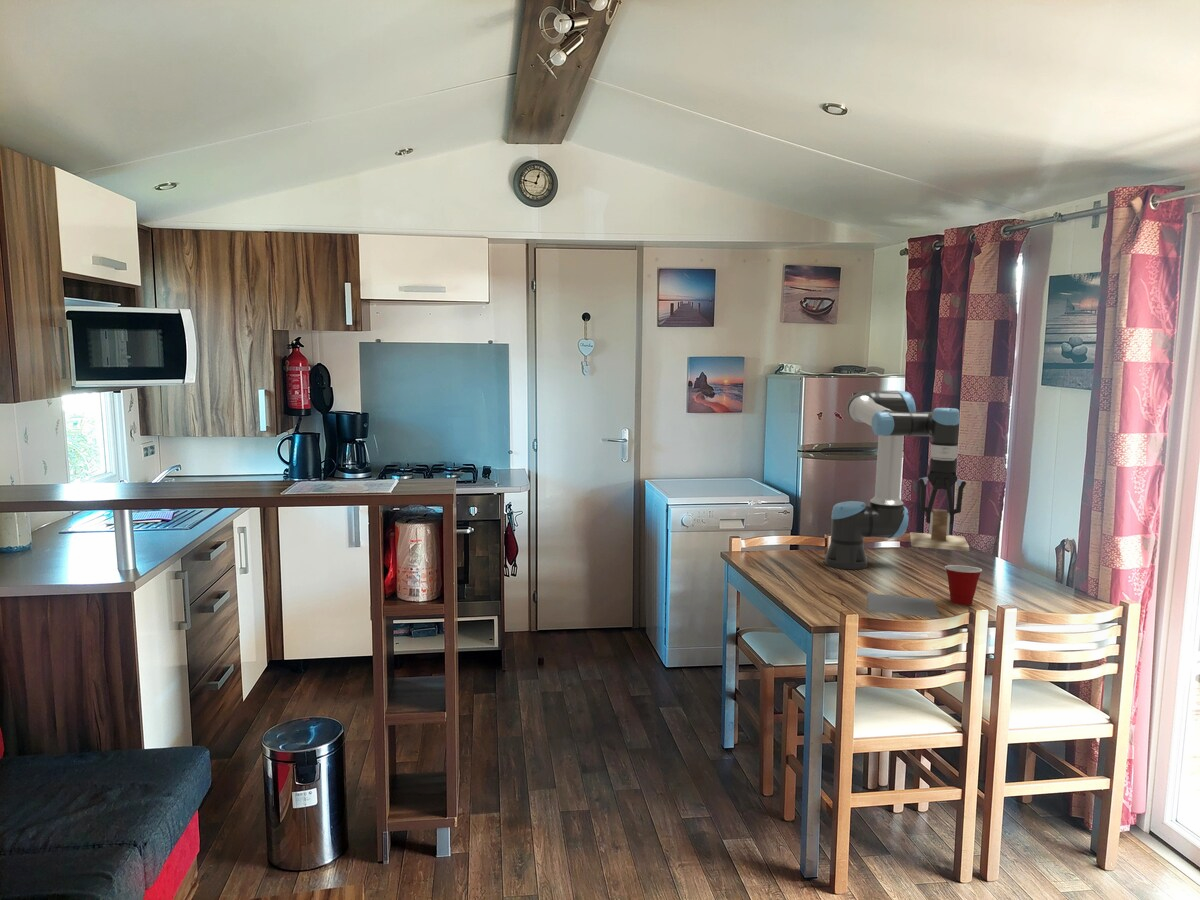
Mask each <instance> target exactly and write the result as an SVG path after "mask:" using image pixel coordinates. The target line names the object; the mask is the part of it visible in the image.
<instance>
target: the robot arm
mask: <svg viewBox="0 0 1200 900" xmlns="http://www.w3.org/2000/svg"><path fill="white" fill-rule="evenodd" d="M912 395H913V394H911V393H910V392H908V391H904V390H871V389H870V390H869V389H868V390H863V391H860V392H857V393H856V394H854V395H852V396H851V397H850V398H849V400H848V401H847V404H846V412H847V415H848V416H849V417H850V419H852V420H853V421H854V422H857V423H860V424H861V423H862V424H864V423H865V424H867V425H868V426H870V427H871V430H872V433H873V434H874V435H876V436H878V440H877V453H876V454H877V457H876V469H875V470H876V472H875V473H876V474H875V485H874V486H875V489H874V497H872V498H871V499H870V500H869V505H867V504H866V503H865V502H864V501H861V500H860V501H859V500H857V501H855V500H850V501H841V502H837V503H835V504H834V505H833V507H832V511H831V515H830V516H831V517H830V518H831V521H830V522H831V525H830V527H831V529H830V542H829V546H828V549H827V552H826V554H825V555H824V556H825V557H824V564H825V565H827V566H828V567H832V568H834V569H835V568H836V569H843V570H863V569H865V568H867V567H868V557H867V554H866V550H865V548H864V539H865V538H877V539H879V538H880V539H881V538H883V539H885V538H886V539H894V538H895V539H896V538H897V539H898V538H901V537H902V536H904V534H905V533H906V531H907V529H908V526H909V518H910V517H909V510H908V508H907V507H906V506H904V501H903V500H901V498H900V496H901V495H900V494H901V492H900V491H901V479H902V466H903V465H902V464H903V453H904V452H903V450H904V436H905V437H930V438H931V442H930V455H929V457H931V459H930V460H929V472H928V474H927V476H924V477H919V478H918V482H919V485H920V506H919V507H920V510H921V511H923V512H925V514H926V515H925V522H926V523H927V524H929V527H928V528H929V529H928V534H931V535H932V526H933V506H934V502H935V499H936V497H937V492H938V490H944V491H945V493H946V498H947V504H948V511H949V512H948V516H947V532H946V536H949V535H950V526H953V525H954V522H955V521H954V519H955V515H956V514H960V513H961V512H962V503H963V493H964V488H965V486H966V484H967V482H966V480H964V479H960V478H958V475H957V465H958V463H957V462H958V461H957V460H956V459H957V458H958V448H959V447H958V446H959V445H958V444H959V433H960V432H959V431H960V423H961V420H960V410H959V409H958V408H956V407H955V408H953V407H950V408H949V407H935V408H934V409H933V411H924V412H923V411H922V412H921V411H918V412H917V407H916V403H915V400H914V399H915V398H914V397H913V396H912ZM928 481H929V482H930V484H931V486H932V488H931V489H932V490H931V493H930V496H929V500H928V503H927V506H926V485H927V484H928ZM955 484H956V486H957V487H958V488H957V495H956V503H955V504H956V505H955V508H954V502H953V496H952V489H951V488H952V487H953V486H954V485H955Z"/></svg>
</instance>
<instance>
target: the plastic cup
mask: <svg viewBox="0 0 1200 900" xmlns="http://www.w3.org/2000/svg"><path fill="white" fill-rule="evenodd" d="M944 569H945V571H946V575H947V576H946V577H947V581H948V590H949V596H950V597H949V598H950V601H951V603H953V604H956V605H962V606H971V605H972V604H973V601H974V597H975V593H976V589H977V586H978V583H979V578H980V575H981V573H982V572H983V569H982V568H980V567H976V566H969V565H958V564H956V565H955V564H952V565H951V564H950V565H945V566H944Z"/></svg>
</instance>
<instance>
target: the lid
mask: <svg viewBox="0 0 1200 900" xmlns="http://www.w3.org/2000/svg"><path fill="white" fill-rule="evenodd" d="M932 512H933V526H932V535H931V534H929V533H926V532H925V533H923V532H912V531H911V532H910V531H909V539H910V546H911V547H915V548H925V549H926V548H927V549H938V550H951V551H952V550H953V551H963V552H969V551H970V546H969V543H968V541H967V540H966V537H965V536H963V535H951V534H949V536H946V532H947V516H948V513H949V512H948V510H947V509H938V508H932Z"/></svg>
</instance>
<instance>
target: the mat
mask: <svg viewBox="0 0 1200 900" xmlns="http://www.w3.org/2000/svg"><path fill="white" fill-rule="evenodd" d="M866 595H867V596H866V598H867V611H868V612H876V613H886V614H895V615H896V614H897V615H906V616H916V617H917V616H918V617H924V618H926V617H927V618H937V619H939V618H941V617H940V614H939V612H938V609H937V605H936V602H935V599H933V598H925V597H924V598H923V597H913V596H901V595H893V594H880V593H873V592H866Z"/></svg>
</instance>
